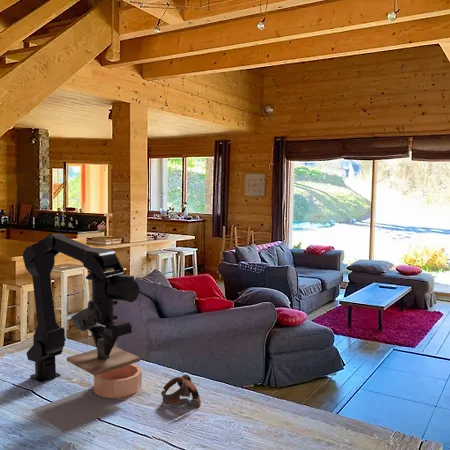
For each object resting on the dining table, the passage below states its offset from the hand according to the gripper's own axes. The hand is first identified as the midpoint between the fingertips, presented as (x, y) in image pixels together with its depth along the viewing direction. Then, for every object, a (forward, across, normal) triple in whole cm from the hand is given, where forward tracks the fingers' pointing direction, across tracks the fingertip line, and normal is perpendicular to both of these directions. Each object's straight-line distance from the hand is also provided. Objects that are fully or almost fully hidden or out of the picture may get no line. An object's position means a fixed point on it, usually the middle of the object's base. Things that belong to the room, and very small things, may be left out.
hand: (103, 353), depth 131 cm
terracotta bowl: (+12, -1, +5) cm, 13 cm away
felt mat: (+12, +2, -10) cm, 16 cm away
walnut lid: (+2, 0, 0) cm, 2 cm away
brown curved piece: (+12, +18, +12) cm, 25 cm away
